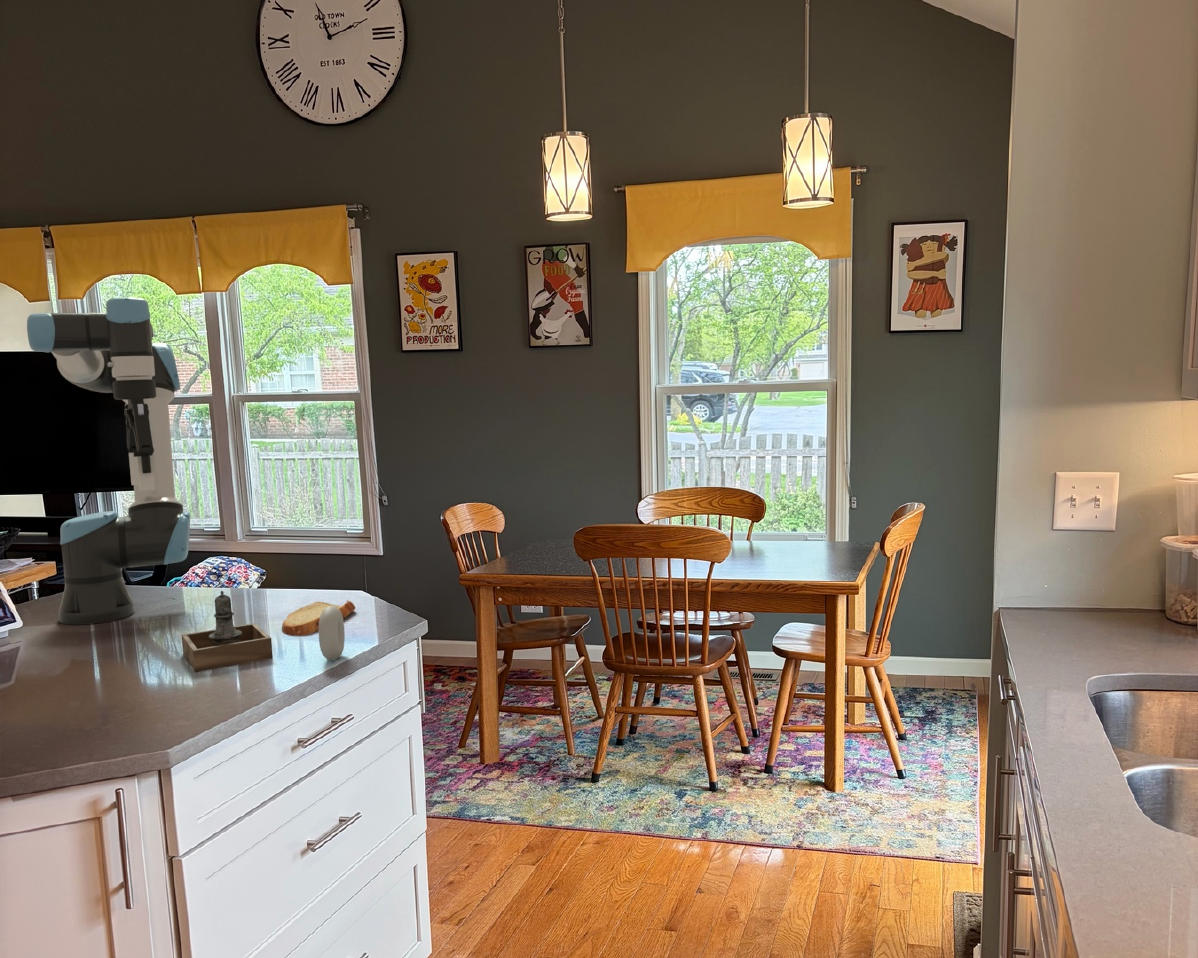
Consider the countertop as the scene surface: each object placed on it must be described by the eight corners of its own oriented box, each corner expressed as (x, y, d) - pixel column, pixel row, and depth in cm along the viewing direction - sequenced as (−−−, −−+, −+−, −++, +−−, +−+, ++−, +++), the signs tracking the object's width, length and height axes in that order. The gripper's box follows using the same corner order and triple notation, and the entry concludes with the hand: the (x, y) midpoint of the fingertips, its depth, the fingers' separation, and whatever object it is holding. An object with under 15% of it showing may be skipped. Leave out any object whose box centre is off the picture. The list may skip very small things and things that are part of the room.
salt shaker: (231, 657, 180) (226, 594, 178) (203, 656, 181) (198, 593, 180) (249, 648, 186) (244, 587, 184) (222, 647, 187) (217, 586, 185)
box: (183, 655, 186) (181, 634, 185) (256, 642, 193) (255, 623, 192) (195, 672, 174) (193, 650, 174) (272, 658, 181) (271, 637, 181)
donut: (329, 652, 184) (325, 600, 183) (347, 651, 184) (344, 599, 183) (318, 667, 174) (314, 613, 173) (338, 666, 175) (334, 612, 173)
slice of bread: (290, 639, 196) (289, 621, 195) (266, 622, 211) (265, 605, 210) (375, 624, 206) (374, 606, 205) (347, 608, 221) (346, 592, 220)
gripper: (106, 380, 197) (115, 483, 199) (118, 378, 176) (129, 494, 178) (146, 379, 201) (155, 480, 203) (163, 377, 179) (173, 490, 182)
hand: (143, 487), depth 190 cm, fingers open, 13 cm apart
